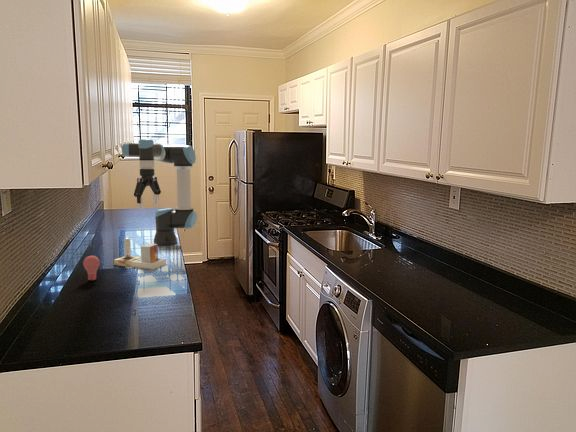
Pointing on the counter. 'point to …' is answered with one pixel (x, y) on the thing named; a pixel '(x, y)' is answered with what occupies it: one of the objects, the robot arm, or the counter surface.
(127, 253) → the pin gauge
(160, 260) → the tray
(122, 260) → the tan square ring
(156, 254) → the small box
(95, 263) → the light bulb
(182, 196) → the robot arm
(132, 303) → the counter surface
